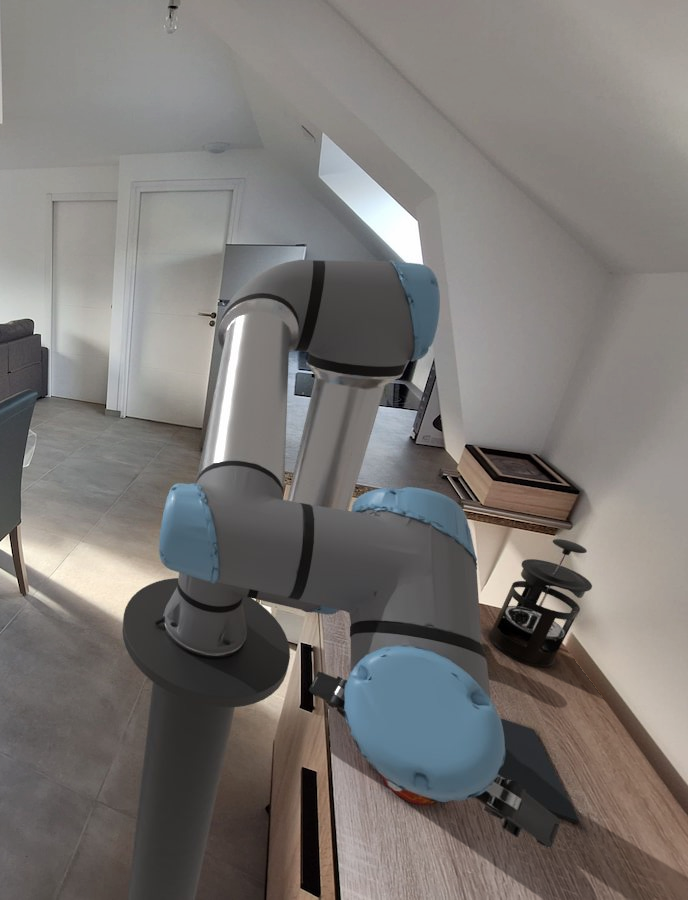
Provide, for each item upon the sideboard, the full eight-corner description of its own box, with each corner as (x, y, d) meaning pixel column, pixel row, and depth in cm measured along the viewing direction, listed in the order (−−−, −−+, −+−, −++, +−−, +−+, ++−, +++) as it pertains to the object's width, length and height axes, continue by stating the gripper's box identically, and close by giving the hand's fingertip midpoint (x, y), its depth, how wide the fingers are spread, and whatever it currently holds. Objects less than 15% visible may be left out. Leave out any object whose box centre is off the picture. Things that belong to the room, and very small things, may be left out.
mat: (427, 767, 64) (428, 764, 63) (409, 691, 75) (410, 688, 75) (577, 824, 57) (579, 821, 57) (532, 732, 69) (534, 729, 69)
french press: (561, 679, 79) (622, 568, 71) (492, 655, 84) (542, 549, 75) (543, 637, 88) (595, 536, 80) (482, 618, 93) (525, 520, 85)
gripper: (250, 678, 44) (291, 704, 58) (639, 951, 26) (558, 890, 41) (286, 610, 45) (317, 652, 60) (677, 826, 28) (586, 811, 43)
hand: (415, 749), depth 50 cm, fingers open, 13 cm apart
